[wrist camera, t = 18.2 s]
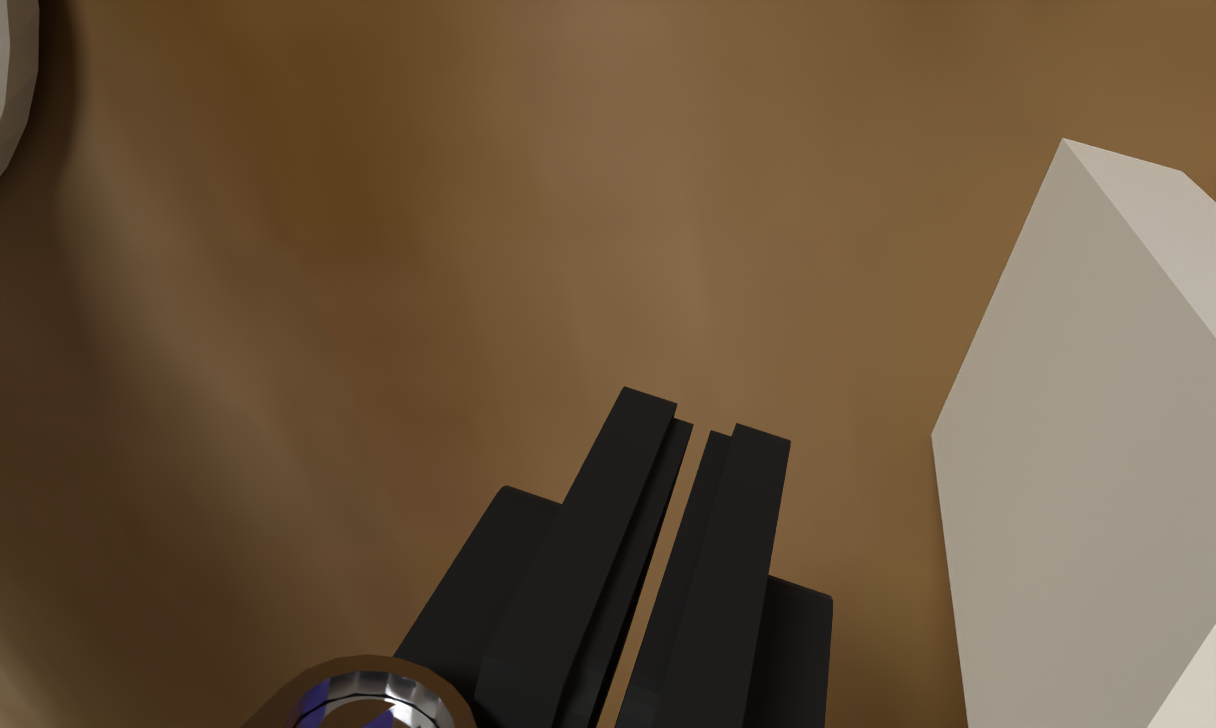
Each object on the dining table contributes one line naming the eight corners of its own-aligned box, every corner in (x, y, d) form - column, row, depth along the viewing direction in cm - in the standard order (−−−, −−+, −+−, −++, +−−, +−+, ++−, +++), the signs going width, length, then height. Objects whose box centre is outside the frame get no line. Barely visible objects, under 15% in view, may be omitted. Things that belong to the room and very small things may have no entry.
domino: (931, 434, 20) (997, 953, 10) (1062, 137, 17) (1317, 470, 8) (1032, 465, 20) (1195, 1024, 10) (1182, 171, 17) (1596, 554, 8)
